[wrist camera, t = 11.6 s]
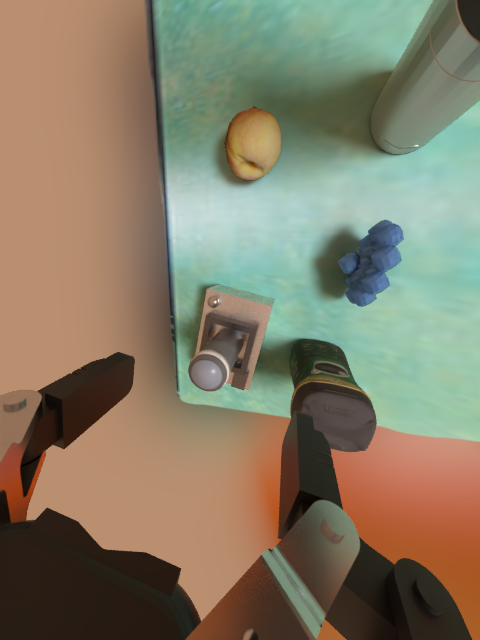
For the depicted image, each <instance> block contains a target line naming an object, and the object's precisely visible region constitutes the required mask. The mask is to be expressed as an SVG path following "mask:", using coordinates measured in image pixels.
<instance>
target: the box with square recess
mask: <svg viewBox="0 0 480 640" xmlns="http://www.w3.org/2000/svg"><path fill="white" fill-rule="evenodd" d="M274 300H275V299H272V298H268V297H264V296H260V295H257V294H253V293H249V292H245V291H241V290H238V289H234V288H230V287H226V286H223V285H219V284H217V285H215V286H212V287H210V288H208V289H207V291H206V297H205V302H204V308H203V314H202V319H201V325H200V331H199V336H198V342H197V348H196V353H195V355H196V354H197V353H199V352H200V351H201V350H202V349H203V348H204V347H205V346H206V345H207V344H208V343H209V342H210V341H211V340H212V338H213V337H214V336H215V335H216V334H217V333H218V332H219V331H220V330H222V329H224V328H231V329H234V330H236V331H238V332H239V333H240V335H241V336H242V338H243V347H242V350H241V352H240V354H239V356H238V358H237V359H236V361H235V363H234V365H233V367H232V369H231V371H230V376H229V378H228V380H227V382H226V383H228V384H231V386H232V387H235V388H238V389H241V390H244V389H247V390H249V388H250V385H251V381H252V378H253V375H254V371H255V368H256V364H257V360H258V357H259V353H260V350H261V346H262V343H263V339H264V335H265V332H266V328H267V325H268V321H269V318H270V314H271V310H272V307H273V303H274Z"/></svg>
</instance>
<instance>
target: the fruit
mask: <svg viewBox="0 0 480 640" xmlns="http://www.w3.org/2000/svg"><path fill="white" fill-rule="evenodd" d="M281 147H282V136H281V130H280V127H279V124H278V122H277V120H276V119H275V118H274V116H272V115H271V114H270V113H269V112H266V111H264V110H261V109H258V108H256V107H255V106H254V107H253V108H251V109H249V110H246V111H243V112H241V113H238V114H237V115H236V116H235V117H234V118H233V119H232V121H231V122H230V124H229V126H228V131H227V135H226V138H225V148H226V155H227V161H228V163H229V165H230V168H231V169H232V171H233V172H234V174H235V175H237V176H238V177H240V178H242V179H245V180H256V179H258V178H261V177H263V176H264V175H266V174H267V173H268V172H269V171H270V170H271V169H272V168H273V167H274V165H275V164H276V162H277V160H278V158H279V155H280V152H281Z"/></svg>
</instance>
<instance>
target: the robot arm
mask: <svg viewBox="0 0 480 640" xmlns="http://www.w3.org/2000/svg"><path fill="white" fill-rule="evenodd" d="M479 101H480V0H433V2H432V4H431V5H430V7H429V9H428V11H427V12H426V14H425V16H424V18H423V20H422V21H421V23H420V25H419V27H418V28H417V30H416V32H415V34H414V35H413V37H412V39H411V41H410V43H409V44H408V46H407V48H406V50H405V51H404V53H403V55H402V57H401V58H400V60H399V62H398V64H397V66H396V67H395V69H394V71H393V73H392V74H391V76H390V78H389V79H388V81H387V83H386V85H385V87H384V88H383V90H382V92H381V94H380V96H379V97H378V99H377V101H376V103H375V105H374V108H373V111H372V114H371V121H370V126H371V133H372V137H373V139H374V141H375V143H376V144H377V145H378V146H379V147H380V148H381V149H382V150H384V151H386V152H388V153H392V154H405V153H410V152H412V151H415V150H417V149H419V148H421V147H422V146H424V145H425V144H427V143H428V142H429V141H430V140H431V139H433V138H434V137H435V136H436V135H438V134H439V133H440V132H441V131H443V130H444V129H445V128H447V127H448V126H449V125H450V124H452V123H453V122H454V121H455V120H456V119H458V118H459V117H460V116H461V115H463V114H464V113H465V112H466V111H468V110H469V109H470V108H471V107H472V106H474V105H475V104H476V103H477V102H479ZM134 363H135V359H134V358H133V357H132V356H129V355H126V354H123V353H120V352H117V353H115V354H113V355H111V356H109V357H107V358H106V359H105V358H103V359H100V360H96V361H93V362H91V363H89V364H87V365H85V366H83V367H81V369H77V370H75V371H74V372H72V374H71V373H70V374H68V375H66V376H65V377H63V378H61V379H59V380H57V381H55V382H53V383H51V384H50V385H48V386H46V387H44V388H42V389H40V390H38V391H33V390H19V391H13V392H9V393H6V394H4V395H1V396H0V640H316V638H317V636H318V634H319V632H320V630H321V627H322V623H323V620H324V619H326V620H327V621H328V622H329V623H330V624H331V625H332V626H333V627H334V628H335V629H336V630H337V631H338V632H339V633H340V634H341V635H342V636H344V637H345V638H346V639H347V640H472V638H471V636H470V634H469V631H468V629H467V627H466V625H465V622H464V620H463V618H462V615H461V613H460V611H459V609H458V607H457V605H456V603H455V602H454V600H453V598H452V597H451V595H450V594H449V592H448V591H447V590H446V588H445V587H444V586H443V584H442V583H441V582H440V581H439V580H438V579H437V578H436V577H435V576H434V575H433V574H432V573H431V572H430V571H429V570H428V569H426V568H425V567H424V566H422V565H421V564H419V563H418V562H416V561H414V560H411V559H407V558H403V559H400V560H398V561H397V562H396V564H395V565H394V564H393V563H392V562H390V561H389V560H387V559H386V558H385V557H384V556H382V555H381V554H380V553H378V552H377V551H375V550H374V549H373V548H371V547H370V546H369V545H368V544H366V543H365V542H364V541H363V540H362V539H361V538H360V537H359V535H358V532H357V530H356V527H355V525H354V524H353V522H352V520H351V519H350V518H349V516H348V515H347V514H346V513H345V512H344V511H343V508H342V503H341V498H340V493H339V489H338V484H337V479H336V474H335V470H334V467H333V460H332V457H331V451H330V446H329V443H328V441H327V439H326V438H325V436H324V434H323V433H322V432H320V431H317V430H314V424H313V417H312V416H311V415H308V414H305V413H301V412H298V411H294V413H293V415H292V418H291V421H290V423H289V426H288V429H287V432H286V434H285V437H284V441H283V445H282V456H281V481H280V507H279V531H278V538H279V539H282V540H281V541H280V542H279V543H278V544H277V546H276V547H275V548H274V549H272V550H271V549H268V550H266V551H265V552H264V553H263V554H262V555H261V556H260V557H259V558H258V559H257V560H256V562H255V563H254V564H253V565H252V566H251V567H250V568H249V569H248V571H247V572H246V573H245V574H244V575H243V576H242V577H241V578H240V579H239V581H238V582H237V583H236V584H235V585H234V586H233V587H232V588H231V589H230V590H229V592H228V593H227V594H226V595H225V596H224V597H223V598H222V599H221V600H220V602H219V603H218V604H217V605H216V606H215V607H214V608H213V609H212V610H211V612H210V613H209V614H208V615H207V616H206V617H205V618H204V619H203V620H202V622H201V620H200V617H199V615H198V612H197V610H196V608H195V606H194V604H193V602H192V600H191V599H190V598H189V596H188V595H187V593H186V592H185V591H184V590H183V588H182V587H181V586H180V585H179V584H178V579H179V575H180V571H181V568H179V567H177V566H175V565H172V564H170V563H168V562H166V561H163V560H161V559H159V558H157V557H155V556H152V555H150V554H148V553H144V552H131V551H116V550H106V549H103V548H101V547H100V546H99V545H98V544H97V542H96V541H95V540H94V539H93V538H92V537H91V536H90V535H89V534H88V532H86V530H85V529H84V528H83V527H82V526H81V525H80V524H79V522H77V521H75V520H73V519H71V518H69V517H66V516H64V515H62V514H60V513H58V512H56V511H53V510H51V509H49V508H46V509H45V510H44V511H43V512H42V513H41V515H40V516H39V517H38V518H37V519H36V520H28V521H26V518H27V510H28V506H29V503H30V500H31V497H32V494H33V491H34V488H35V485H36V482H37V480H38V477H39V474H40V471H41V468H42V465H43V462H44V459H45V456H46V450H47V449H48V448H49V447H50V446H52V445H55V446H58V447H60V448H62V449H65V448H66V447H67V446H69V445H70V444H71V443H72V442H73V441H74V440H75V439H77V438H78V437H79V436H80V435H81V434H82V433H84V432H85V431H86V430H87V429H88V428H89V427H91V426H92V425H93V424H94V423H95V422H96V421H98V420H99V419H100V418H101V417H102V416H103V415H104V414H106V413H107V412H108V411H109V410H110V409H111V408H113V407H114V406H115V405H116V404H117V403H118V402H120V400H122V399H123V398H124V397H125V396H126V395H127V394H128V393H129V392H130V390H131V388H132V385H133V375H134Z"/></svg>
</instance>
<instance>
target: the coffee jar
mask: <svg viewBox="0 0 480 640" xmlns="http://www.w3.org/2000/svg"><path fill="white" fill-rule="evenodd" d="M289 364H290V372H291V376H292V380H293V384H294V393H293V396H292V400H291V408H290V414H291V418H292V415H293V413H294V411H298V412H301V413H305V414H308V415H311V416H312V417H313V424H314V430H317V431H320V432H322V433H323V434H324V436H325V438H326V439H327V441H328V443H329V446H330V449H335V450H340V451H345V452H358V451H364V450H366V449H367V448H368V446H369V444H370V442H371V440H372V438H373V435H374V432H375V429H376V415H375V411H374V409H373V405H372V402H371V400H370V398H369V397H368V395H367V394H366V393H365V392H364V391H363V390H362V389H361V388H360V387H359V386H358V385H357V383H356V382H355V380H354V378H353V376H352V373H351V371H350V368H349V365H348V362H347V359H346V356H345V354H344V352H343V351H342V349H341V348H340V347H338V346H336V345H333V344H330V343H326V342H321V341H316V340H301V341H299V342H297V343H296V344H295V345H294V347H293V349H292V351H291V355H290V363H289Z"/></svg>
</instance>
